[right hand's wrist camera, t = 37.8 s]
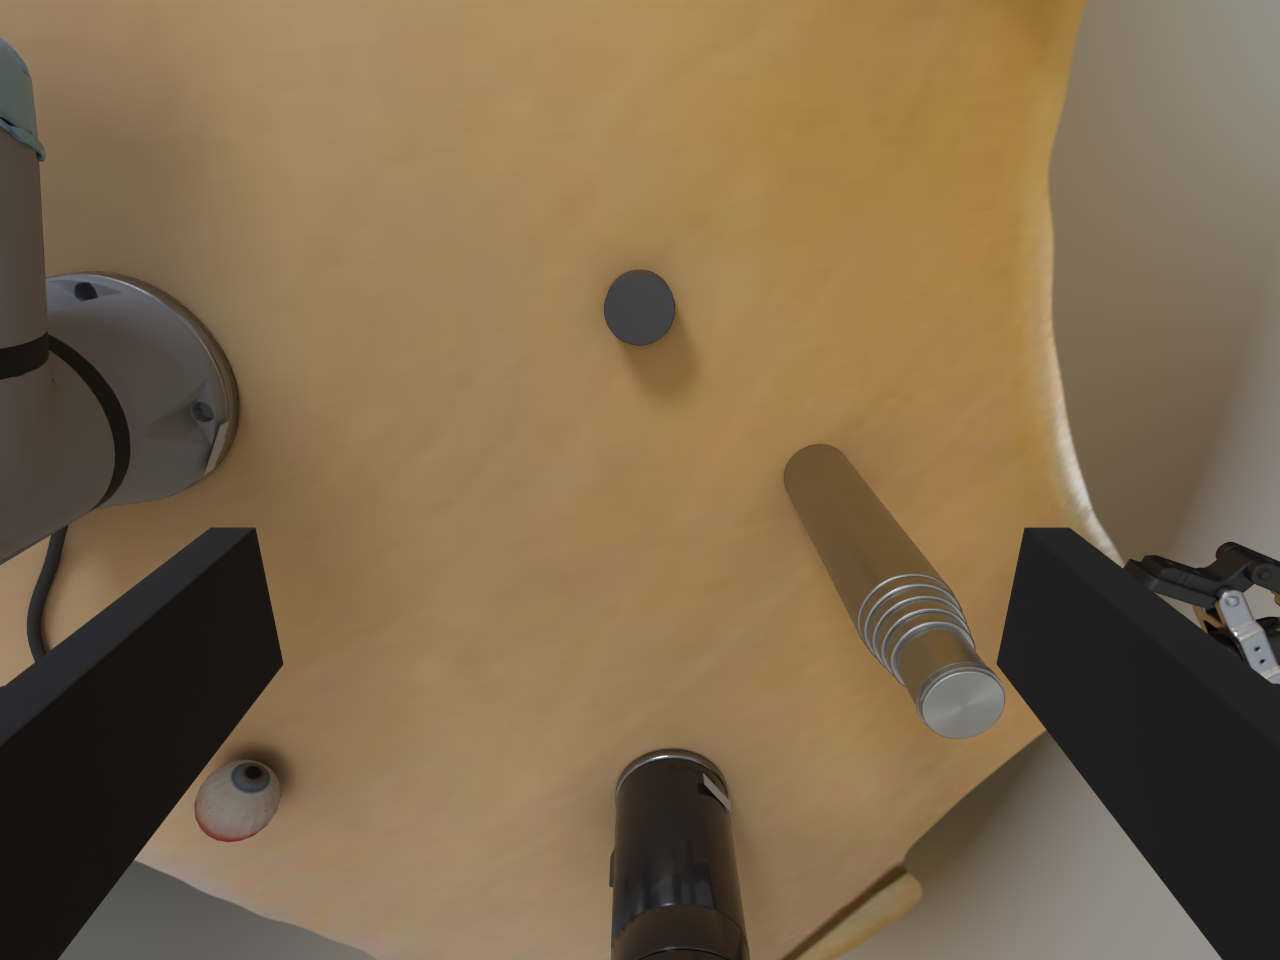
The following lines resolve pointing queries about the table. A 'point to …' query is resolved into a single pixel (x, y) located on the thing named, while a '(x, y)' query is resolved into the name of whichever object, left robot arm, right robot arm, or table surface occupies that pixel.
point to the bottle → (894, 595)
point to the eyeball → (237, 800)
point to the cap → (639, 307)
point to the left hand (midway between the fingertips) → (1090, 640)
